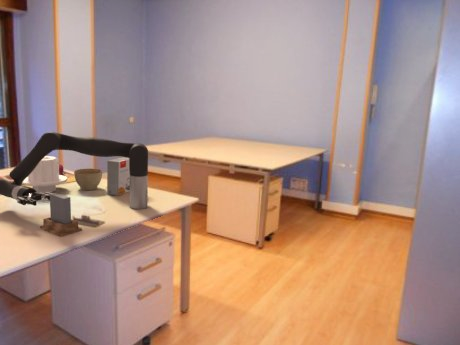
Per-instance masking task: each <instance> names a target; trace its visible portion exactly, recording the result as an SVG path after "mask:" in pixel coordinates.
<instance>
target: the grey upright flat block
mask: <svg viewBox="0 0 460 345" xmlns="http://www.w3.org/2000/svg"><path fill="white" fill-rule="evenodd" d="M52 193H53V194H50V201H49V207H50V212H49V213H50V217H51V220H53V221H55V222H58V223H61V224H63V225H65V224H69V223H71V219H72V213H71V212H72V207H71V206H72V204H71V201H72V200H71V197H70V196H67V195H65V194H62V193H58V192H52Z"/></svg>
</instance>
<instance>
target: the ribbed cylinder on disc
mask: <svg viewBox="0 0 460 345" xmlns="http://www.w3.org/2000/svg"><path fill="white" fill-rule="evenodd" d="M59 162H60V160H59V158H58V157H57V156H52V155H46V156H45V157H44V158H43V159H42V160H41V161H40V162H39V163H38V165H37V166H36V167H35V169H34V170H33V171H32V172H31V174H30V175H29V176H28V177H27V178H26V179H25V180H24V181H23V182H22V184H21V185H22V186H27V187H32V188H33V189H35V190H36V191H37V192H39V193H44V192H49V193H53V192H56V188H57V187H56V185H61V184H65V183H67V181H68V177H67V176H66V175H63V174H61V175H59V165H60V164H59Z"/></svg>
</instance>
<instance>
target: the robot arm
mask: <svg viewBox="0 0 460 345" xmlns="http://www.w3.org/2000/svg"><path fill="white" fill-rule="evenodd" d="M53 151H70V152H71V151H73V152H75V153H76V152H77V153H79V154H83V155H86V156H93V157H98V158H99V157H101V158H102V157H103V158H109V157H111V158H112V157H120V158H123V157H124V158H129V171H130V192H129V208H130V209H134V210H142V209H148V202H149V201H148V196H149V195H148V193H149V192H148V191H149V190H148V186H149V185H148V181H149V178H148V177H149V149H148V147H147V146H146V145H145V144H143V143H138V142H135V143H133V142H131V143H130V142H122V141H121V142H120V141H116V140H112V139H111V140H110V139H107V138H106V139H105V138H99V137H93V136H92V137H90V136H74V135H69V134H65V133H64V134H63V133H60V132H55V131H47V132H45V133H43V134H42V135H41V137H40V138H39V140H38V141H37V143H36V144H35V145H34V146H33V148H32V149H31V150H30V151H29V153H27V155H26V156H25V157H23V159H22V160H21V161H20V162H19V163H18V164H17V165H16V166H15V167H14V168H12V170H11V171H10V172H9V174H8V175H9V177H10V179H12V180H13V181H10V180H8V179H5V178H0V195H2V196H3V197H6V198H10V199H13V200H15V201H16V203H17V204H20V205H22V206H26V205H29V206H30V205H32V206H37V202H45V201H49V202H50V194H53V193H54V192H43V193H39V192H37V191H36V190H35V189H33V187H31V186H27V185H23V184H22V182H23V181H24V180H25V179H26V178H27V177H28V176H29V175H30V174H31V172H32V171H33V170H34V169H35V167H36V166H37V165H38V163H39V162H40V161H41V160H42V159H43V158H44V157H45V156H48V155H49V154H50V153H51V152H53Z"/></svg>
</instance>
